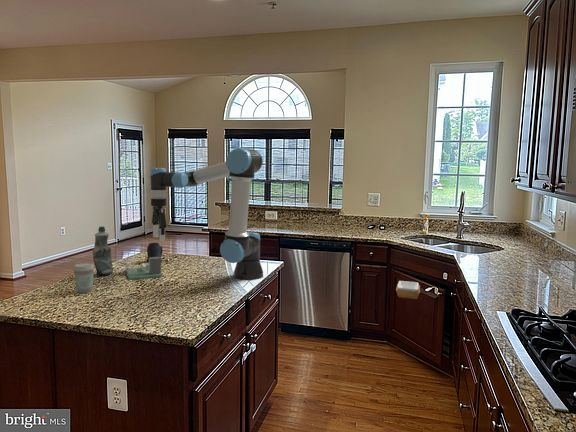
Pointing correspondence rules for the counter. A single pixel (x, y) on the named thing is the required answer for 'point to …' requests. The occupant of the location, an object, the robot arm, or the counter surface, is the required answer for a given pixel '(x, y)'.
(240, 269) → the robot arm
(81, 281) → the coffee cup
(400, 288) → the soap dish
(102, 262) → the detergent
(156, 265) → the plug
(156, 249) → the mug
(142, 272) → the translucent green tray
